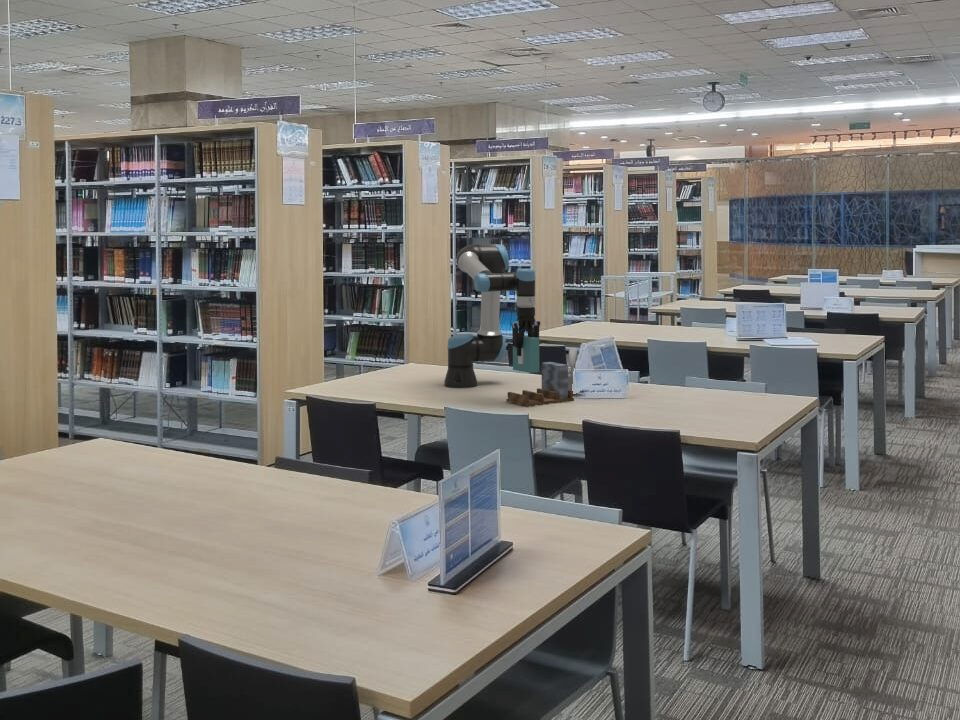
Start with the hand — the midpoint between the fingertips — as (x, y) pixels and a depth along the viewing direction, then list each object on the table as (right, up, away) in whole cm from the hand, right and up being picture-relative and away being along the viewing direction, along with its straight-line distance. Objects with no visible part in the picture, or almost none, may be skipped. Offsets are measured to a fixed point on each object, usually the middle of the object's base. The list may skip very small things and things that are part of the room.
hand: (525, 363), depth 403 cm
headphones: (+22, -14, +26) cm, 37 cm away
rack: (+6, -16, +7) cm, 19 cm away
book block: (0, -3, 0) cm, 3 cm away
